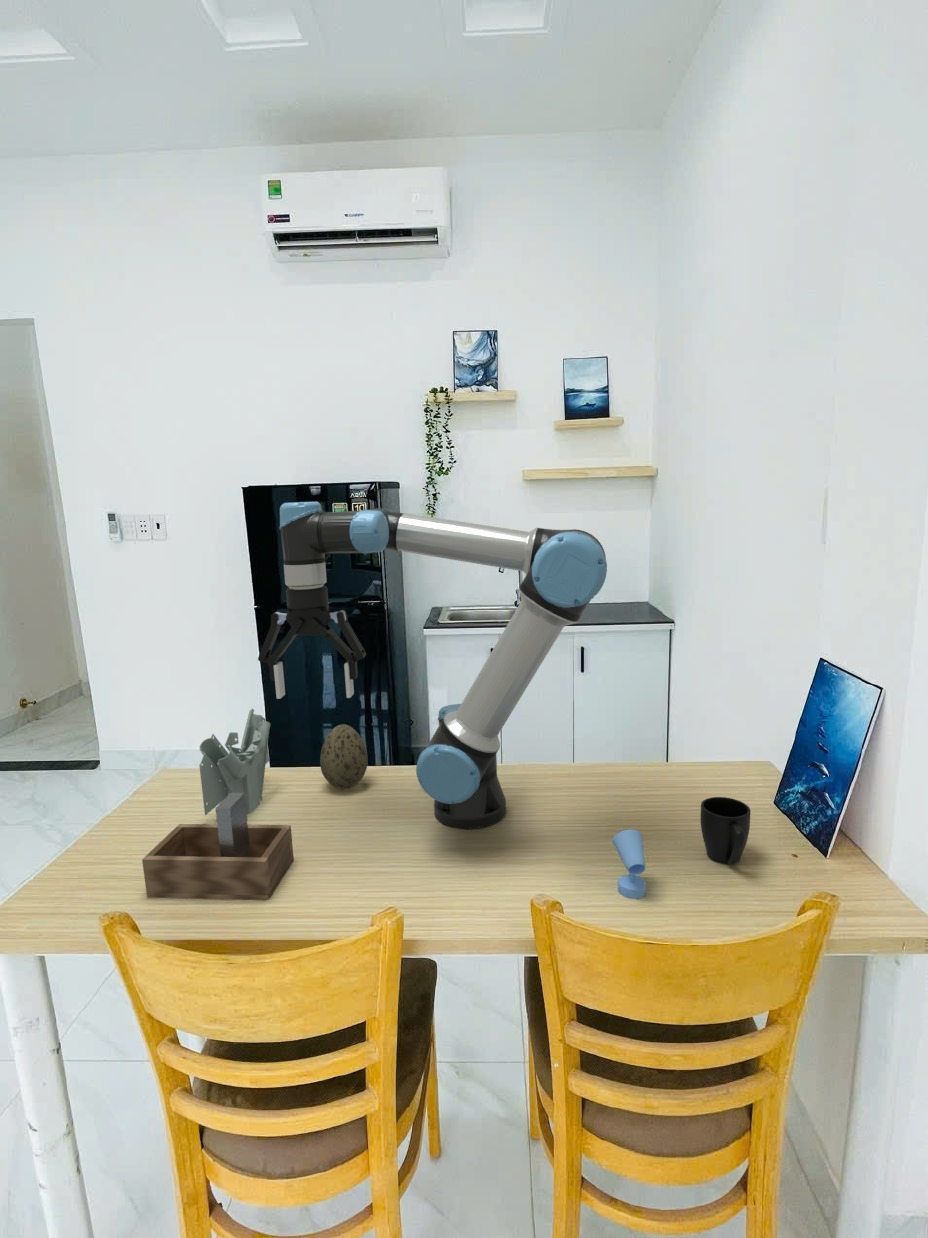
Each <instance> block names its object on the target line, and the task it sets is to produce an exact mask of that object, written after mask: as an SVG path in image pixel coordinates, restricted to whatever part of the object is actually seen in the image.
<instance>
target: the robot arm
mask: <svg viewBox="0 0 928 1238" xmlns="http://www.w3.org/2000/svg"><path fill="white" fill-rule="evenodd" d="M279 531H280V537H281V545H282V546H281V547H282V555H283V556H282V557H283V573H284V584H285V585H286V586H287V587H288V588H287V589H286V590H285V593H286V594H285V596H286V606H287V612H286V613H284V612H283V613H282V611H276V612H274V613H271V615H270V625H269V629H268V632H267V634H266V637H265V640H264V642H263V643H262V644H263V645H262V647H261V650H260V652H259V654H258V657H257V660H258V662H260V663H266V664H267V665H268V669H269V679H270V680H271V682H274V685H275V695H276V699H277V700H278V699H280V700H282V698H283V697H284V696H286V687H285V685H286V684H285V677H284V665H283V661H280V659H281V657H282V656H283V654H284V653H285V652H286V651H287V649H288V647H289V646H290V645H291V644H292V643H293V641H294V640H295V639H296V638H297V636H300V637H307V636H310V637H317V636H321V637H323V638H324V639H326V641H328V642H329V643H330V645H332V647H334V648H335V650H336V651H337V652H338V653H339V654H340V655H341V656H342V658H344V659H345V661H346V662H344V664H343V668H344V681H345V694H346V698H347V699H350V698H352V696H354V694H355V689H354V687H355V686H354V680H356V679H357V678H358V674H359V673H358V662H359V661H362V660H363V659H364V658H365V657H366V655H367V652H366V650H365V648H364V647H363V645H362V643H361V642H360V640H359V638H358V637H357V635H356V633H355V632H354V629H353V627H352V626H351V624H350V623H349V620H348V616H347V611H346V610H345V609H341V610H340V611H334V612H331V611H330V606H329V594H328V592H329V591H328V587H327V586H326V585H325V584H326V583H327V582H328V581H327V568H326V567H327V566H326V556H325V555H326V554H364V555H365V554H366V555H367V554H373V553H381V552H383V551H384V550H387V551H388V550H389V551H396V552H404V553H410V554H414V555H415V554H416V555H422V556H429V557H433V558H441V559H447V560H451V561H452V560H453V561H458V562H464V563H465V562H466V563H471V564H477V565H483V566H489V567H493V568H494V567H495V568H501V569H506V570H511V571H512V570H513V571H519V572H523V573H524V574H525V577H524V579H523V580H522V582H521V583H520V586H518V592H519V596H520V603H519V605H518V606H517V608H516V609H515V611H514V613H513V615H512V616H511V618H510V620H509V622H508V623H507V625H506V626H505V628H504V630H503V632H502V633H501V635H500V637H499V638H498V641H497V642H496V643H495V645H494V647H493V649H492V651H490V652H491V653H489V656H488V658H486V662H485V663H484V664H483V666H482V668H481V669H480V671H479V673H478V675H477V676H476V678H475V680H474V682H473V683H472V685H471V687H470V688H469V690H468V691H467V694H466V695H465V697H464V699H463V701H462V702H461V703H455V704H448V705H445V706H442V707H440V709H439V710H438V717H437V721H438V727H437V729H436V730H435V732H434V734H433V735H432V737H431V739H430V740H429V742H428V744H427V746H426V747H425V749H423V750H422V751H421V753H420V754H419V756H418V760H417V763H416V768H415V769H416V771H415V773H416V774H415V775H416V777H417V778H416V779H417V780H418V783H419V785H420V788H421V789H422V790H423V791H424V793H425V794H427V796H429V797H430V798H431V799H433V800H434V803H433V805H434V806H433V808H434V809H433V811H434V812H433V813H434V817H435V818H436V820H437V821H438V822H439V823H442V824H444V825H446V826H449V827H452V828H457V829H463V830H464V829H467V830H468V829H479V828H485V827H486V828H487V827H489V826H492V825H494V824H497V823H498V822H500V821H502V820H503V819H504V818H505V816H506V814H507V800H506V797H505V794H504V791H503V788H502V786H501V783H500V781H499V777H498V765H497V761H498V759H497V754H498V752H499V750H500V749H501V748H500V747H501V742H500V739H499V733H500V732H501V731H502V729H503V727H504V726H505V724H506V723H507V721H508V720H509V717H510V716H511V714H512V713H513V711H514V709H516V706H517V704H518V703H519V702H520V700H521V698H522V696H523V695H524V693H525V691H526V690H527V688H528V687H529V686H530V685H529V684H531V682H532V680H533V678H534V677H535V675H536V673H537V672H538V670H539V668H540V667H541V665H542V663H543V662H544V660H545V659H546V657H547V655H548V654H549V652H550V651H551V649H552V646H554V643H555V642H556V641H557V639H558V637H559V636H560V634H561V632H562V631H563V629H564V628H565V627H566V626H569V625H575V624H577V623H578V622H579V620H580V618H581V617H582V615H583V613H584V612H585V610H586V609H587V607H588V606H589V604H590V602H591V601H592V599H594V598H595V596H597V595H598V594H599V592H600V591H601V589H602V588H603V586H604V584H605V581H606V577H607V571H608V565H607V564H608V563H607V557H606V553H605V549H604V547H603V545H602V543H601V542H600V541H599V540H598V539H597V538H596V537H595V536H594V535H593V534H592V533H589V532H587V531H585V530H582V529H576V528H575V529H574V528H573V529H552V528H551V529H549V528H542V527H535V528H534V529H532V530H531V531H525V530H519V529H511V528H506V527H505V528H504V527H500V526H499V527H498V526H492V525H485V524H479V523H473V522H465V521H458V520H450V519H445V518H439V517H433V516H426V515H420V514H418V515H417V514H412V513H406V512H405V513H403V512H397V511H392V510H390V509H388V508H380V507H379V508H375V509H374V508H373V509H361V510H348V511H332V512H331V511H323V509H322V505H321V503H320V502H318V501H299V502H297V501H296V502H283V503H282V504H281V505H280V507H279ZM331 620H333V621H334V623H335V624H337V625H338V627H339V629H340V631H341V633H342V634H343V637H344V638H345V639H346V641H347V642H348V644H349V646H350V647H349V646H348V645H347V643H345V641H344V640H343V639H341V637H340V636H339V635H338V634H337V633H336V632H335V630H334V629H333V627H331V625H329V623H330V622H331ZM285 621H286V622H287V623H288V625H290V629H289V630H288V632H287V633H286V635H285V636H284V637H283V639H282V640H281V642H280V643H279V645H278V646H277V647H276V649H275V650H274V651H273V653H271V652H272V649H273V647H274V645H275V642H276V640H277V637H278V635H279V632H280V630H281V627H282V625H283V624H284V623H285Z"/></svg>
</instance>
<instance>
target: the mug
mask: <svg viewBox="0 0 928 1238" xmlns="http://www.w3.org/2000/svg"><path fill="white" fill-rule="evenodd" d="M700 803H701V804H700V828H701V830H700V831H701V835H702V839H703V843H704V847H705V850H706V855H707V857H708V858H709V859H710V860H712V861H713V862H716V863H718V864H721V865H722V864H724V865H730V866H731V865H732V866H733V865H736V864H737V863H739V862H740V861H741V857H742V855H743V853H744V850H745V848H746V845H747V842H748V838H749V833H750V829H751V828H750V827H751V811H752V810H751V808H750V806H749V805H748V804H746V803H744V802H742V801H741V800H737V799H734V798H731V797H727V796H726V797H725V796H714V797H709V798H705V799H703V800H702V802H700Z"/></svg>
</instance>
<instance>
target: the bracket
mask: <svg viewBox="0 0 928 1238" xmlns="http://www.w3.org/2000/svg"><path fill="white" fill-rule="evenodd" d="M254 712H255V709H253V708H250V710H249V712H248V715H247V719H246V723H245V728H244V732H243V736H242V741H241V745H240V748H239V747H234V746H235V745H238V744H239V733H238V732H233V731H231V732H229V733H228V735H227V739H226V742H225V744H224V746H223V744H222V743H221V742H220V741H219V740H218V738H217V736H216V735H214V733H212V734H211V737H208V738H205V739H204V740H203V741H202V742H201V743H200V745H199V751H200V753H201V754H202V758H201V761H200V763H199V773H200V774H199V775H200V783H201V792H202V800H203V808H204V810H203V811H204V816H207V815H208V814H209V813H210V812H212V810H214V809H216V807H217V806H218V805H219V804H220V803H221V802H222V801H223V800H224V799H225V798H226V797H227V796H228V795H229V794H230V793H244V794H245V804H246V813H247V814H251V813H252V812H254V811H255V810H256V809H257V808H258V807H259V805H261V801H260V800H263V799H262V798H263V791H264V782H265V781H264V780H265V773H266V772H265V771H266V764H267V763H269V762H270V755H269V745H268V743H269V736H270V735H269V734H270V728H271V723H270V722H269V721H266V718H264V717H263V716H262V715H261V714H256V713H254ZM225 748H227V749H225ZM227 750H228V751H227Z"/></svg>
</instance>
